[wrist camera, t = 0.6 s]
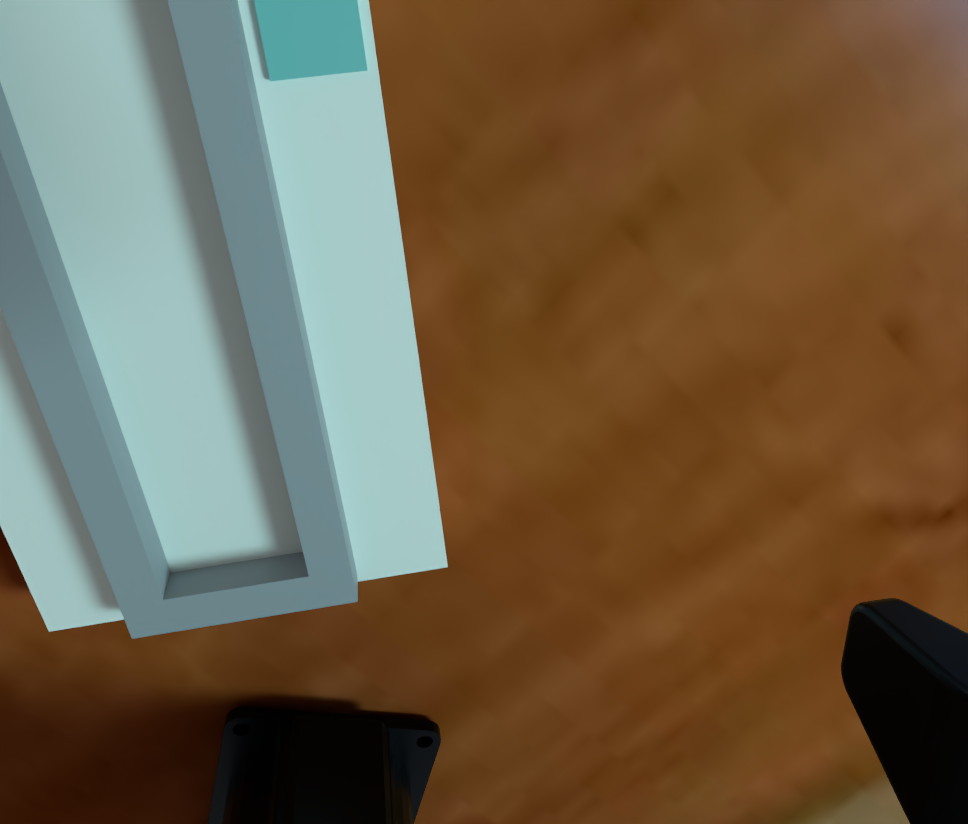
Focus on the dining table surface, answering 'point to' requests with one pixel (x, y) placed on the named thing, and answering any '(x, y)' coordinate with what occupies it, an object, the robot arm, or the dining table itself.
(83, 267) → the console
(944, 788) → the robot arm
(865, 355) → the dining table surface
